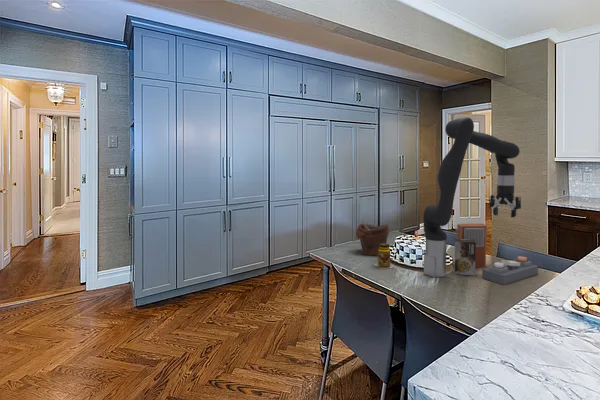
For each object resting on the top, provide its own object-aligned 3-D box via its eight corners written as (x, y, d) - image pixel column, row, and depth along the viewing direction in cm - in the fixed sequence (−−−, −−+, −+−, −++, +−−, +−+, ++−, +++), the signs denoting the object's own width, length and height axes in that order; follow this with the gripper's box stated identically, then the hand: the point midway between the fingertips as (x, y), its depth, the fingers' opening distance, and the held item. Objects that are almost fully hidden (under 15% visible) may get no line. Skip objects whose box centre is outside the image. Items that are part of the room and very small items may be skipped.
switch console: (504, 284, 145) (504, 271, 145) (482, 278, 154) (482, 265, 154) (537, 274, 157) (538, 262, 157) (515, 268, 166) (516, 257, 165)
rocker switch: (510, 265, 151) (510, 262, 151) (501, 263, 155) (501, 260, 155) (520, 265, 155) (520, 262, 155) (511, 263, 159) (511, 260, 159)
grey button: (500, 269, 149) (500, 264, 148) (492, 267, 152) (492, 262, 152) (505, 268, 150) (505, 263, 150) (497, 266, 153) (497, 261, 153)
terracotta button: (523, 263, 157) (523, 258, 157) (515, 261, 160) (516, 257, 160) (528, 262, 159) (528, 257, 158) (520, 260, 162) (520, 255, 161)
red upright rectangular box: (453, 263, 178) (483, 263, 176) (458, 267, 171) (489, 267, 169) (454, 223, 175) (484, 223, 174) (459, 225, 168) (490, 225, 167)
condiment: (382, 269, 171) (382, 246, 170) (372, 265, 179) (372, 243, 177) (394, 267, 174) (394, 244, 172) (384, 263, 181) (384, 241, 180)
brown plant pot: (352, 249, 211) (352, 221, 209) (383, 248, 213) (383, 220, 211) (360, 257, 194) (360, 227, 191) (394, 256, 196) (394, 225, 194)
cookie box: (474, 272, 163) (475, 239, 161) (475, 276, 157) (476, 242, 156) (454, 270, 167) (454, 238, 165) (454, 273, 161) (454, 240, 159)
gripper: (487, 184, 174) (486, 215, 175) (516, 185, 161) (514, 218, 163) (496, 183, 177) (494, 214, 179) (524, 184, 165) (523, 217, 167)
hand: (504, 216), depth 171 cm, fingers open, 8 cm apart
